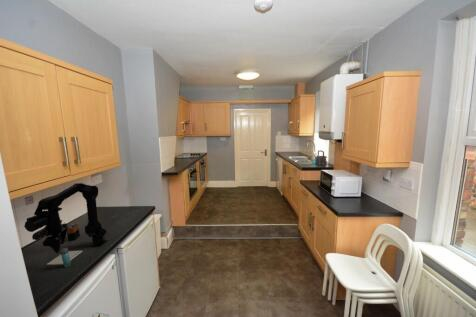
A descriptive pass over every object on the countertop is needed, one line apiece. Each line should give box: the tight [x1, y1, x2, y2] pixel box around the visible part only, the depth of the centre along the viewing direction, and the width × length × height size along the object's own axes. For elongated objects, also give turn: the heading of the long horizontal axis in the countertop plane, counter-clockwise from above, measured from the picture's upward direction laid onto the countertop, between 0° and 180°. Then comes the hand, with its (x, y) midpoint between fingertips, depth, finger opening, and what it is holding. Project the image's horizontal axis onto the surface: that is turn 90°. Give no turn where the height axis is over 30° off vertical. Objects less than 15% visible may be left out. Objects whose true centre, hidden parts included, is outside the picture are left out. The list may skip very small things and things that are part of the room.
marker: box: [59, 247, 72, 268], centre depth 111 cm, size 3×3×10 cm
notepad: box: [46, 250, 83, 266], centre depth 119 cm, size 12×11×1 cm
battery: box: [66, 223, 81, 242], centre depth 141 cm, size 4×7×10 cm, turn 16°
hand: (60, 248), depth 107 cm, fingers open, 9 cm apart
